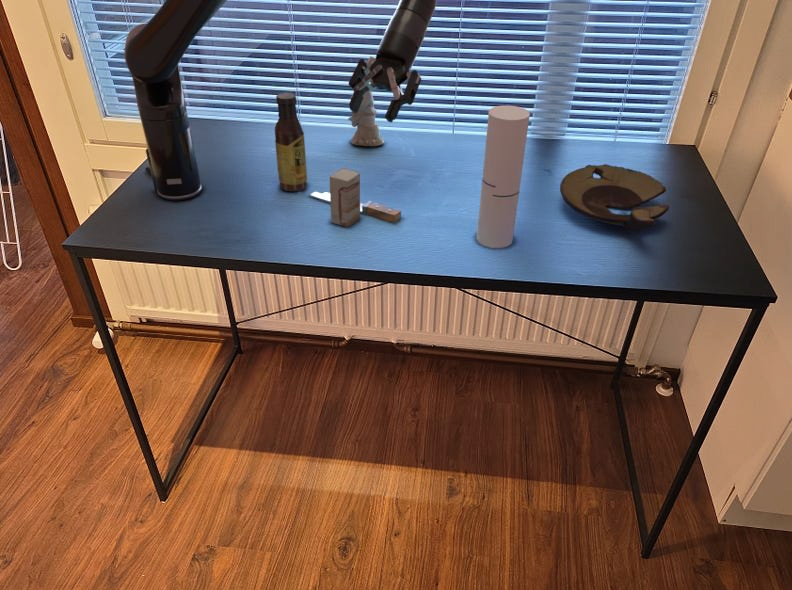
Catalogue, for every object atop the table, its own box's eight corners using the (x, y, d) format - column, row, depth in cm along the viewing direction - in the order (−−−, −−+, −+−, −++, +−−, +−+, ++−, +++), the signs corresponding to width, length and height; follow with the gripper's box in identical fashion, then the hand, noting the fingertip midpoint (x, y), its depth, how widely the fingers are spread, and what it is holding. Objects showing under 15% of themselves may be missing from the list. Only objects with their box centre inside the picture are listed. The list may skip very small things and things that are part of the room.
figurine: (383, 135, 172) (382, 54, 159) (384, 148, 166) (384, 64, 153) (349, 136, 172) (345, 54, 159) (349, 149, 165) (345, 64, 152)
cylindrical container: (489, 226, 136) (503, 102, 120) (519, 238, 132) (537, 111, 116) (469, 239, 132) (480, 113, 116) (499, 252, 128) (515, 123, 112)
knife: (309, 197, 145) (308, 188, 144) (318, 191, 147) (318, 183, 146) (393, 224, 136) (393, 215, 135) (401, 218, 138) (402, 209, 137)
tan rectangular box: (348, 228, 135) (346, 181, 128) (330, 222, 136) (327, 176, 130) (362, 217, 138) (360, 171, 132) (344, 212, 140) (342, 167, 133)
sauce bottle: (302, 194, 146) (294, 102, 133) (275, 191, 147) (265, 100, 134) (311, 181, 151) (304, 92, 138) (285, 179, 152) (276, 89, 139)
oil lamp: (662, 193, 149) (671, 160, 144) (666, 260, 127) (678, 224, 122) (561, 180, 153) (567, 148, 148) (548, 243, 131) (555, 208, 126)
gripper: (365, 23, 132) (333, 98, 131) (426, 35, 126) (393, 113, 126) (380, 46, 138) (349, 117, 138) (439, 58, 133) (407, 132, 133)
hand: (370, 115), depth 132 cm, fingers open, 8 cm apart
